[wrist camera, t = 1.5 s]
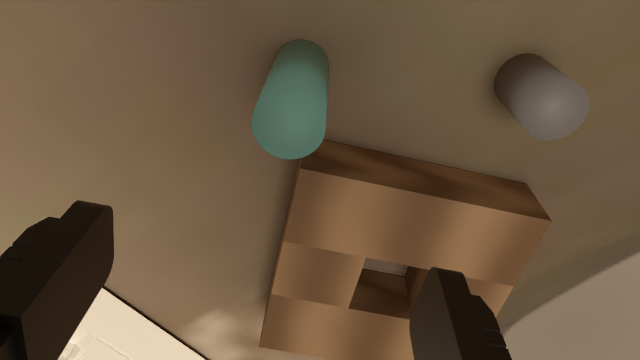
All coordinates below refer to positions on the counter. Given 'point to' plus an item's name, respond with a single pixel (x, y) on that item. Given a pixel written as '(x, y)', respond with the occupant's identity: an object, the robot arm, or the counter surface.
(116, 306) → the white flat notched panel
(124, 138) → the counter surface
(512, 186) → the walnut block
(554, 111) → the short pin
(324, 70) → the teal pin
